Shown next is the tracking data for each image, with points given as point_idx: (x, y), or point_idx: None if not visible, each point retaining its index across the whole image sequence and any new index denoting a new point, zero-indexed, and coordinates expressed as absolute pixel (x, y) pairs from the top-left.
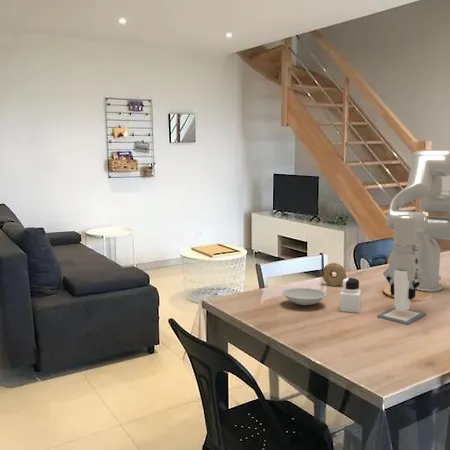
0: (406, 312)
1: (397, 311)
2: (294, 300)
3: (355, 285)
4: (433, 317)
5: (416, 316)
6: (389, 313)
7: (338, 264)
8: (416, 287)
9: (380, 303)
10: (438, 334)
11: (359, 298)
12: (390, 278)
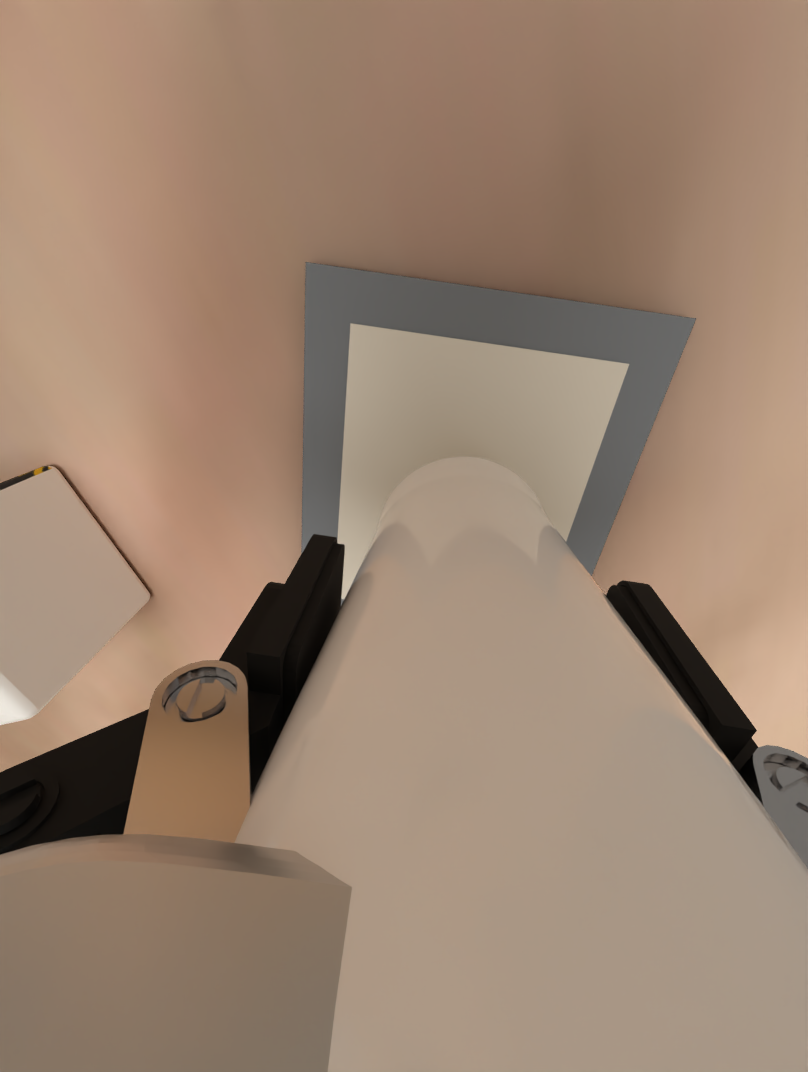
0: (482, 424)
1: (394, 444)
2: None
3: None
4: (770, 354)
5: (598, 481)
6: (357, 537)
7: None
8: (806, 763)
9: (86, 193)
10: (777, 704)
11: (61, 680)
12: (80, 833)
